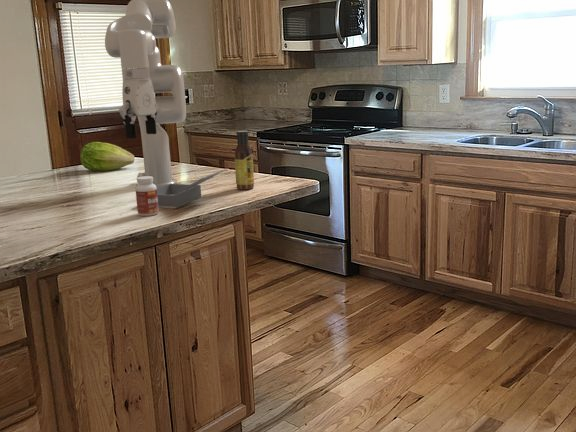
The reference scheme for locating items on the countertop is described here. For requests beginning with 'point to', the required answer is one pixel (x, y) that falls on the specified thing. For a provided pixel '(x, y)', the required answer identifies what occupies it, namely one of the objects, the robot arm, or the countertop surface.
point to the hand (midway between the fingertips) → (142, 136)
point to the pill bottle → (146, 196)
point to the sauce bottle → (244, 162)
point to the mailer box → (177, 195)
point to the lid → (201, 180)
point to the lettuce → (105, 157)
